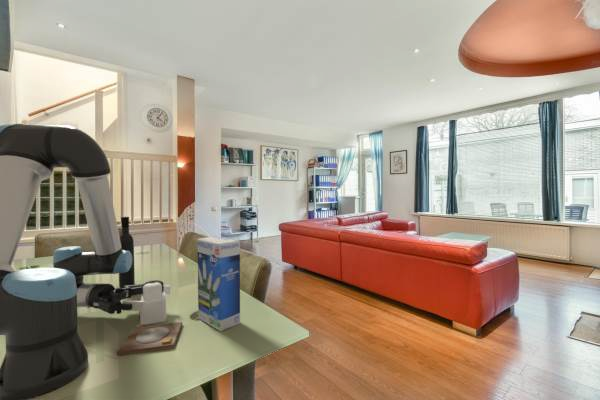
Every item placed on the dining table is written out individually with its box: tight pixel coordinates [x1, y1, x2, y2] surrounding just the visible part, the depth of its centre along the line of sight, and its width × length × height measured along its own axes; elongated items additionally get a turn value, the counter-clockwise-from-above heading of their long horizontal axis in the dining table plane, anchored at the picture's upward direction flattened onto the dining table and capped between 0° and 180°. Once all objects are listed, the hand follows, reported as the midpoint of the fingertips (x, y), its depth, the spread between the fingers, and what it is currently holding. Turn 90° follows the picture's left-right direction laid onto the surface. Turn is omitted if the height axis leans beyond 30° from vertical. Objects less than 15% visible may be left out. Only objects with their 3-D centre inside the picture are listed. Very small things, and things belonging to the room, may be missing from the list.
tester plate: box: [116, 321, 183, 357], centre depth 77 cm, size 13×13×2 cm
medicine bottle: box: [139, 279, 167, 327], centre depth 88 cm, size 7×7×12 cm
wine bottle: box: [118, 216, 136, 288], centre depth 120 cm, size 6×6×30 cm
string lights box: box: [196, 235, 241, 332], centre depth 87 cm, size 13×8×26 cm, turn 48°
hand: (157, 297), depth 89 cm, fingers open, 13 cm apart
